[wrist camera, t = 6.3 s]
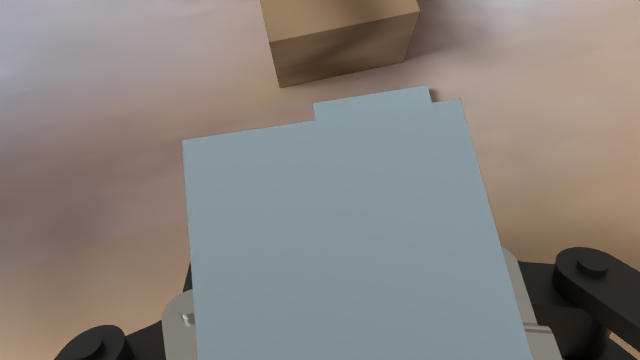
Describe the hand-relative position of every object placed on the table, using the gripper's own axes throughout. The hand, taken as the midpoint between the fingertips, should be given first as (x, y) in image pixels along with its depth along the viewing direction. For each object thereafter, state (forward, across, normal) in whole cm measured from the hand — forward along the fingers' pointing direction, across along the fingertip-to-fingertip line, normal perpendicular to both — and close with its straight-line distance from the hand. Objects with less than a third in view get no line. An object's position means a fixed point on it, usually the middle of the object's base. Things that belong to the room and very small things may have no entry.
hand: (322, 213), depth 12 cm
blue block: (+2, 0, +5) cm, 5 cm away
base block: (+18, -3, -3) cm, 18 cm away
